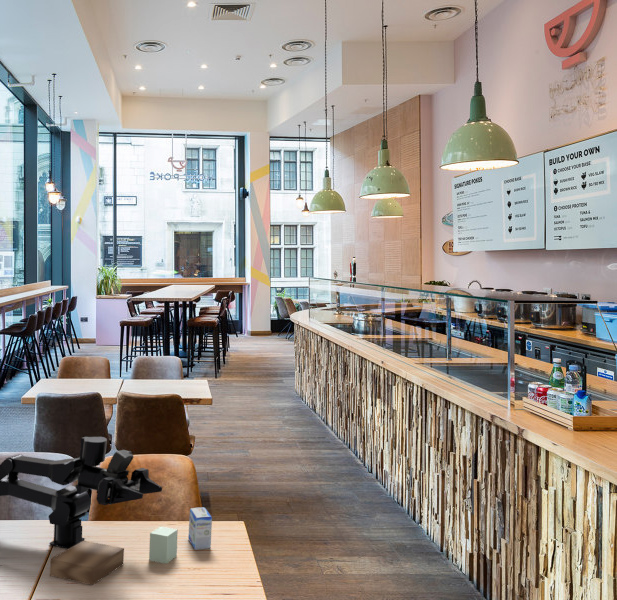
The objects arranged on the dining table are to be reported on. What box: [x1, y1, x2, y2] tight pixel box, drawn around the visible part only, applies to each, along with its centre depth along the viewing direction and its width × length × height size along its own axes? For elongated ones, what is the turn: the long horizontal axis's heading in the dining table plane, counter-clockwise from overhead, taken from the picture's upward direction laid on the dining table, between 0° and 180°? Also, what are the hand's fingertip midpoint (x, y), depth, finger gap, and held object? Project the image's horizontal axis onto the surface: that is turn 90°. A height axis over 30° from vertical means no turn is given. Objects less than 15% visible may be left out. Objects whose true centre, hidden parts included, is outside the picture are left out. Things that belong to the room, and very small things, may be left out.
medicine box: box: [188, 507, 213, 551], centre depth 172 cm, size 8×4×9 cm, turn 23°
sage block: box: [148, 526, 178, 565], centre depth 162 cm, size 5×5×7 cm
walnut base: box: [49, 540, 125, 586], centre depth 154 cm, size 12×12×4 cm
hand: (152, 492), depth 161 cm, fingers open, 9 cm apart
